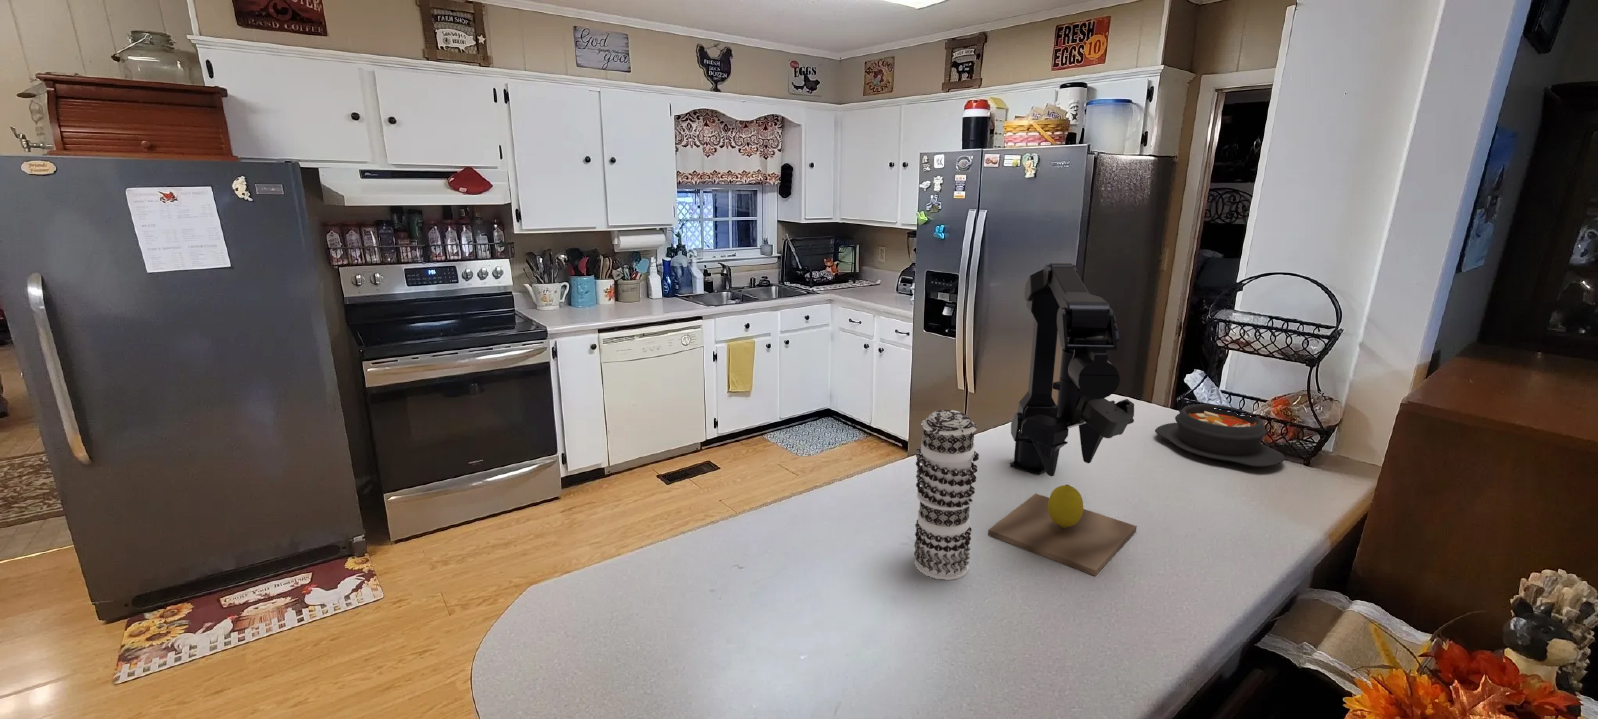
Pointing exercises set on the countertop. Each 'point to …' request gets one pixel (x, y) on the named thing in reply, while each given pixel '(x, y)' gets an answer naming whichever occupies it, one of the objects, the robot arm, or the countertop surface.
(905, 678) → the countertop surface
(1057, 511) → the lemon
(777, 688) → the countertop surface
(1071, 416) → the robot arm
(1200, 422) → the casserole
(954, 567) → the decorative candle
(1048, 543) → the walnut board
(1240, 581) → the countertop surface
